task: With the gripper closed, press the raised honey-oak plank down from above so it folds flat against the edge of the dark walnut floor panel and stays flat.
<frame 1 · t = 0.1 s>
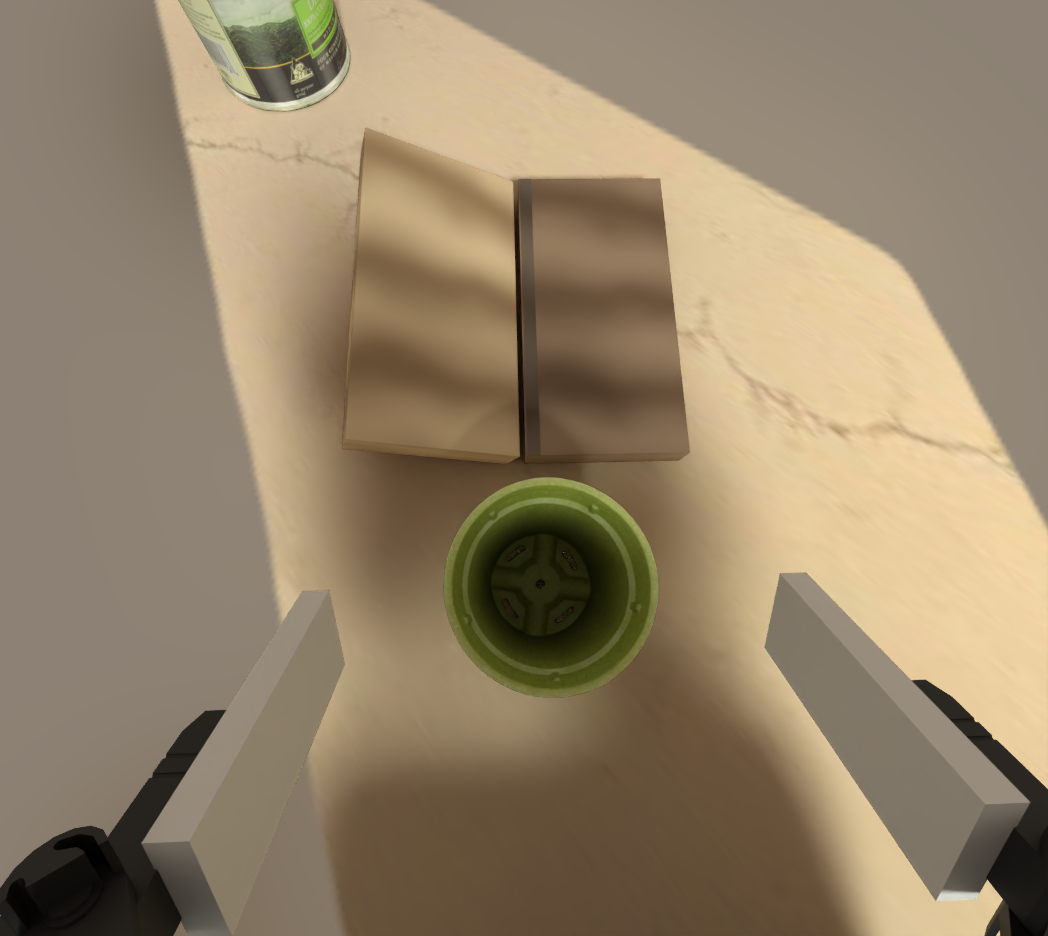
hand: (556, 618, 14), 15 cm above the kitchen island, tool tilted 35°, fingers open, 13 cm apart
plant pot: (541, 582, 30), on the kitchen island
oak plank: (437, 299, 31), point 3 cm above the kitchen island, hinge at 25.0°
coffee can: (287, 63, 39), on the kitchen island
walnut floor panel: (593, 322, 34), on the kitchen island
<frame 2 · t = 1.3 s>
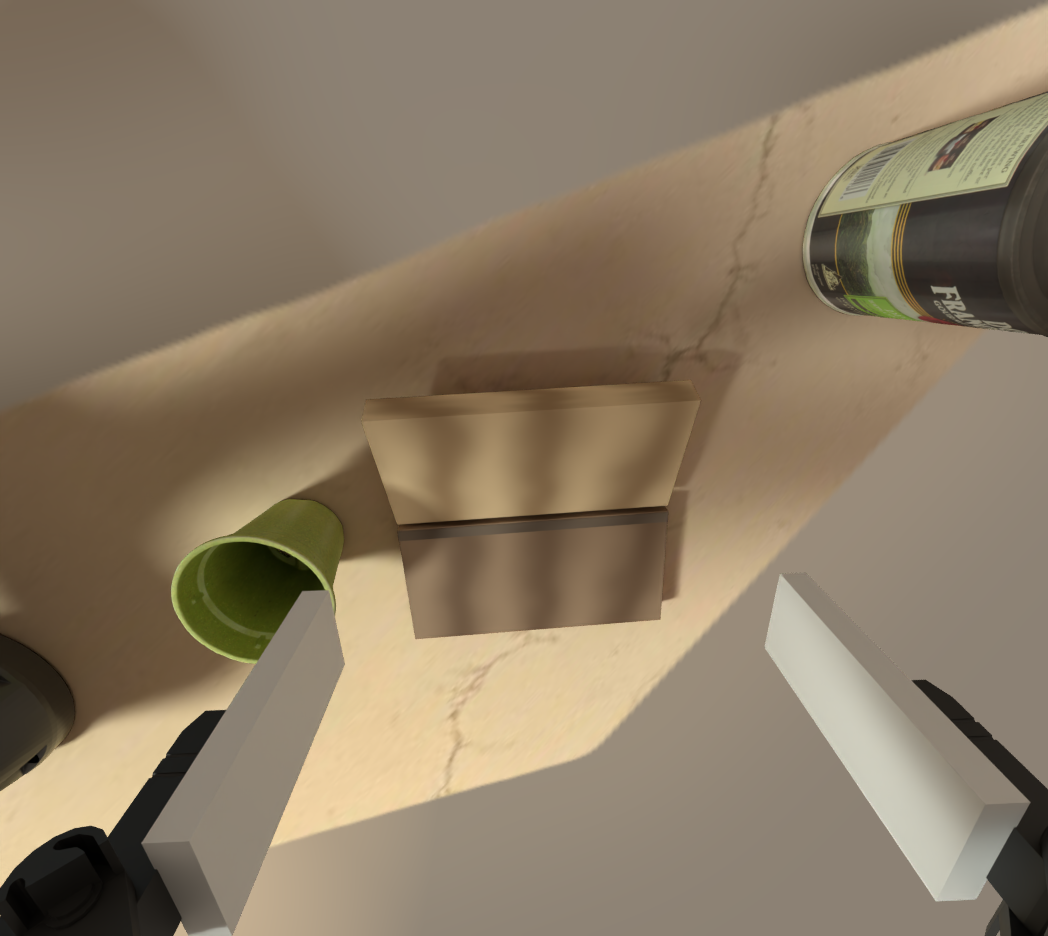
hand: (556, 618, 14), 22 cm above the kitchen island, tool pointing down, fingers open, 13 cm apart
plant pot: (306, 532, 37), on the kitchen island
oak plank: (532, 458, 33), point 3 cm above the kitchen island, hinge at 25.0°
coffee can: (876, 233, 32), on the kitchen island
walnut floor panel: (534, 563, 40), on the kitchen island
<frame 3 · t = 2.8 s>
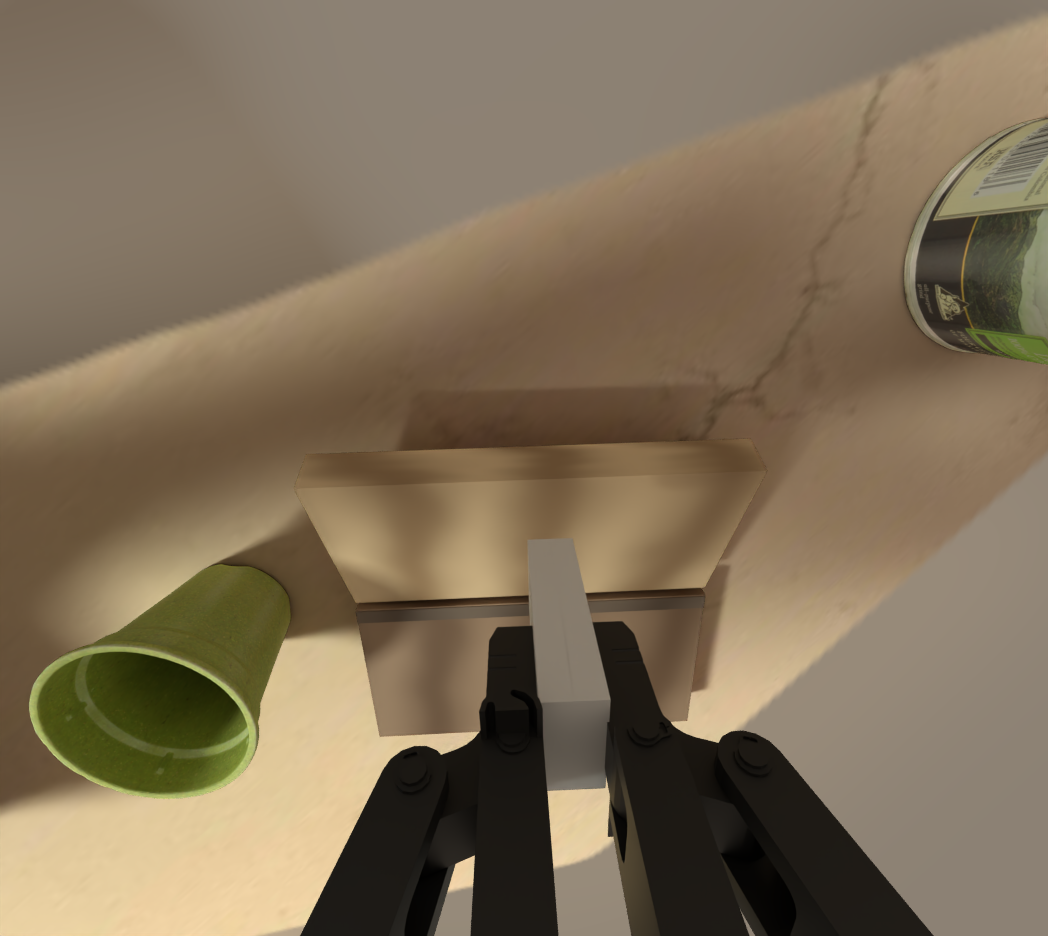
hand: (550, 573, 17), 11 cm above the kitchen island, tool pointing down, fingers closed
plant pot: (244, 602, 30), on the kitchen island
oak plank: (531, 529, 25), point 3 cm above the kitchen island, hinge at 25.0°
coffee can: (1005, 244, 24), on the kitchen island
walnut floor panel: (531, 646, 32), on the kitchen island
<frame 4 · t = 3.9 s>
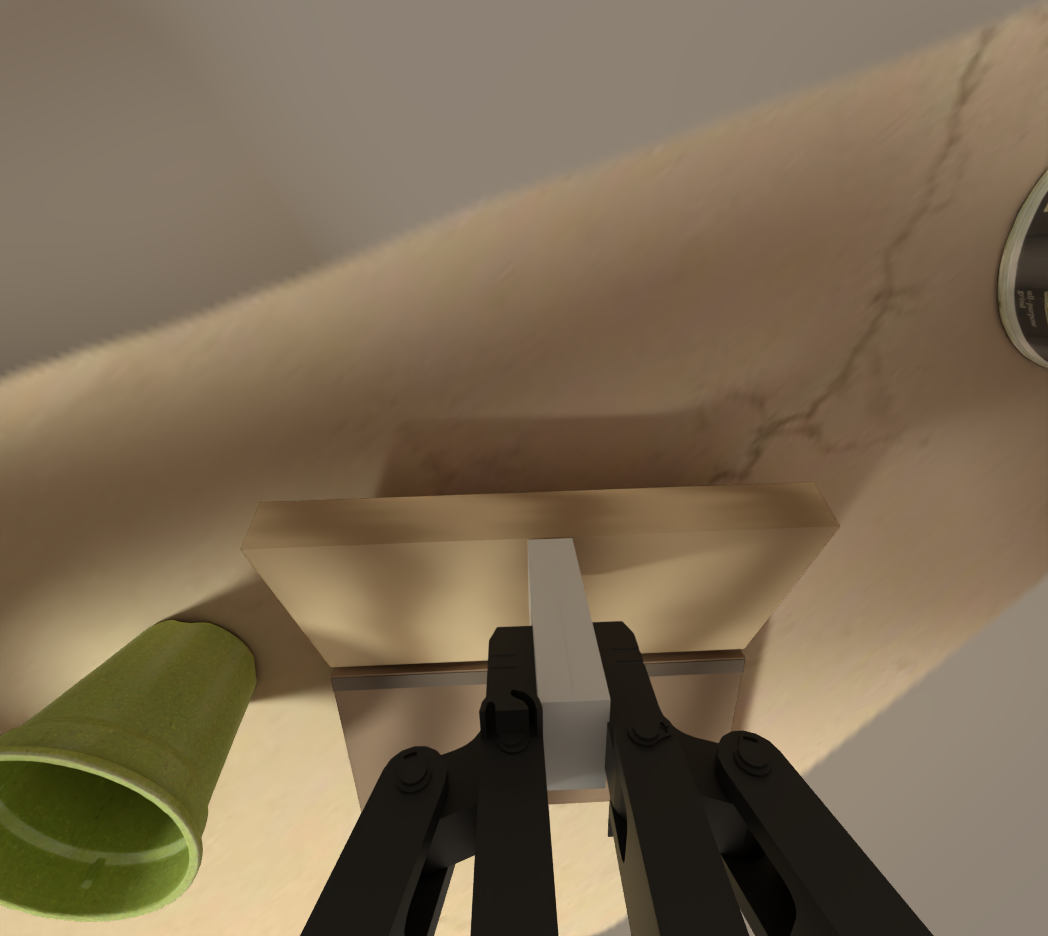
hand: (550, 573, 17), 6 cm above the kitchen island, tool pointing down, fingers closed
plant pot: (202, 661, 25), on the kitchen island
oak plank: (540, 586, 21), point 3 cm above the kitchen island, hinge at 24.6°, touching gripper
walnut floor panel: (538, 708, 27), on the kitchen island
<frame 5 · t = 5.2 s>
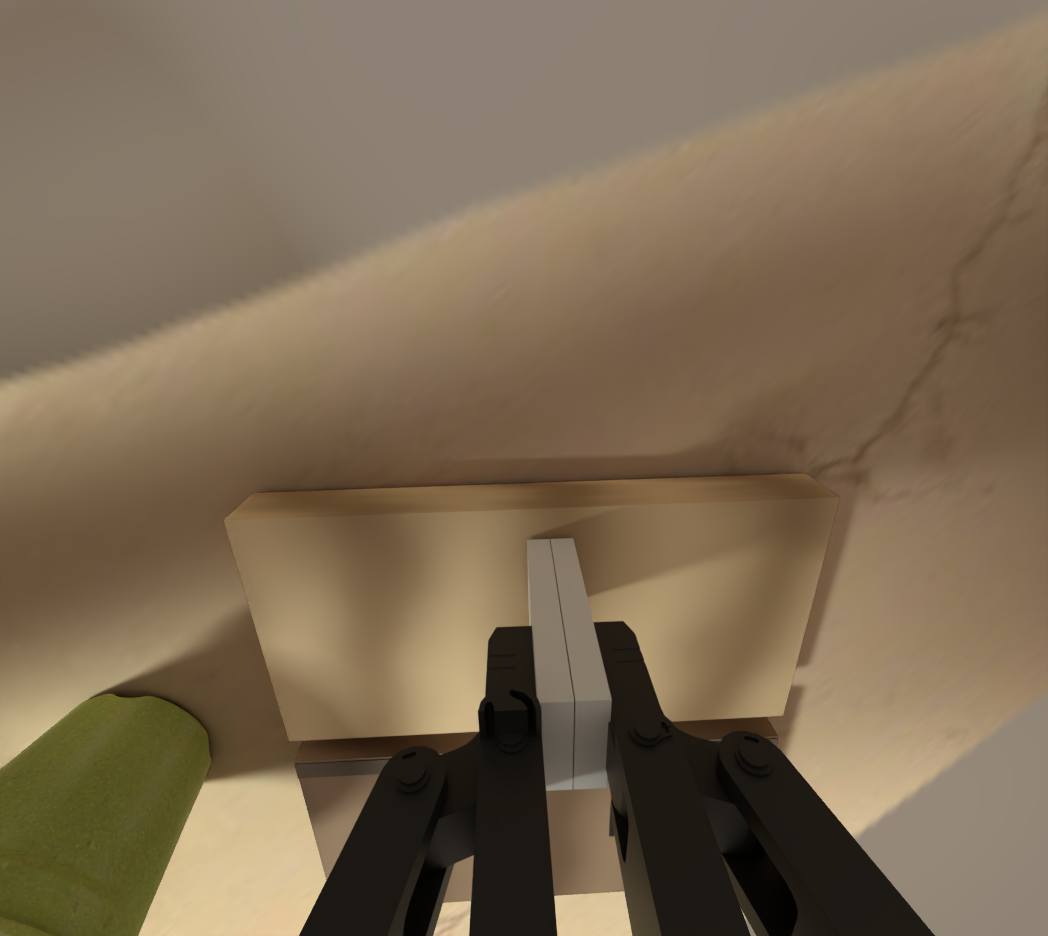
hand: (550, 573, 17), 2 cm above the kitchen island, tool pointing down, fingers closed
plant pot: (148, 737, 22), on the kitchen island
oak plank: (537, 612, 19), point 1 cm above the kitchen island, hinge at 1.6°, touching gripper
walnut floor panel: (538, 785, 24), on the kitchen island
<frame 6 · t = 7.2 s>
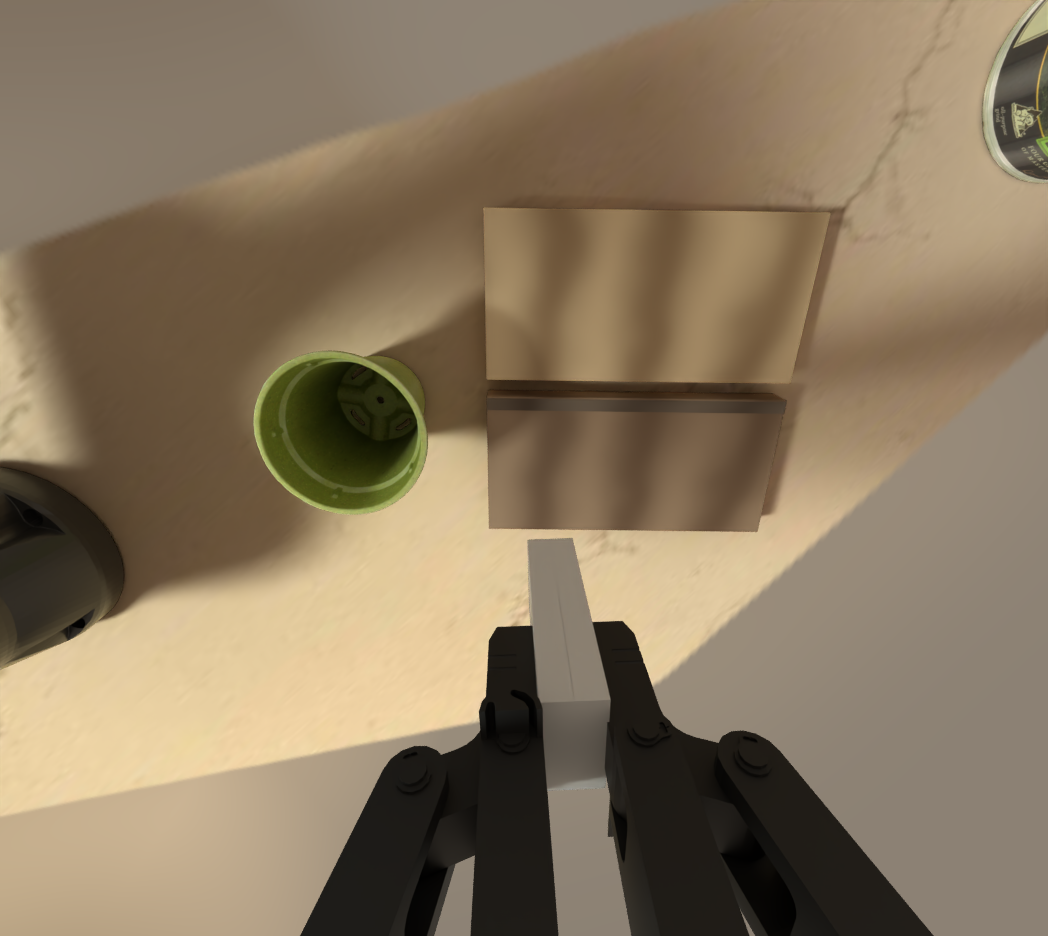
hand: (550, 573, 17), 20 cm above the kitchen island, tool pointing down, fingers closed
plant pot: (384, 398, 35), on the kitchen island
oak plank: (643, 300, 31), point 1 cm above the kitchen island, hinge at 1.6°
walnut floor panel: (624, 457, 36), on the kitchen island
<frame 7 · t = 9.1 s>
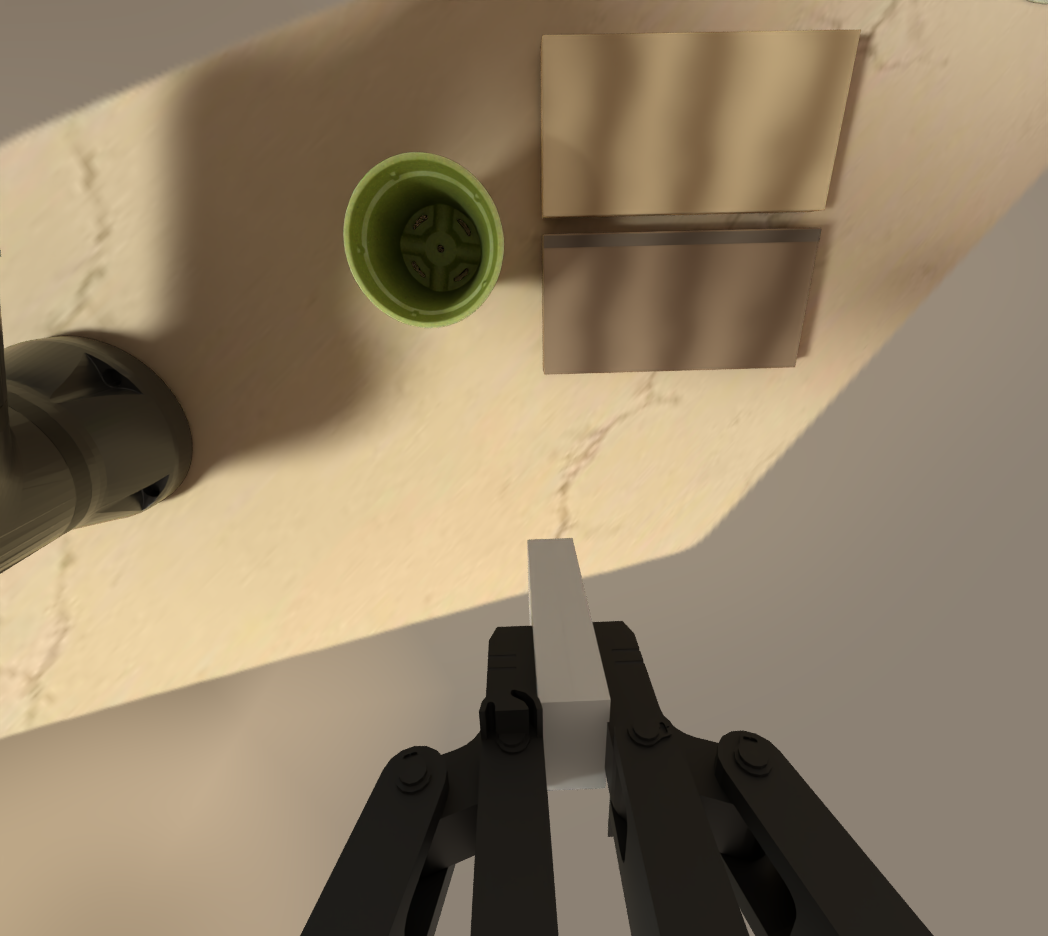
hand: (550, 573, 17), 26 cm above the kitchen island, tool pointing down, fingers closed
plant pot: (442, 250, 37), on the kitchen island
oak plank: (688, 131, 33), point 1 cm above the kitchen island, hinge at 1.6°
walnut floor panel: (668, 302, 39), on the kitchen island
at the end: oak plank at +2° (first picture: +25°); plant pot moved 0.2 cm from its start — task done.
